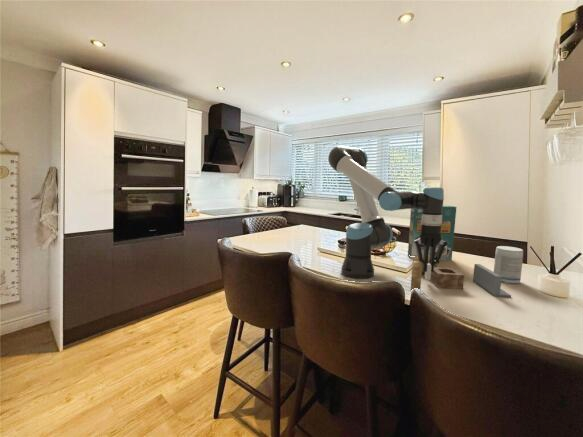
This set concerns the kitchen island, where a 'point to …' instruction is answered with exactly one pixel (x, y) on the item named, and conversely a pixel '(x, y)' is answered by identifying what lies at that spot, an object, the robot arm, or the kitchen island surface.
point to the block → (447, 278)
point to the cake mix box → (446, 232)
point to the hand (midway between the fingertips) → (427, 278)
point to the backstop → (488, 281)
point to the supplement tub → (508, 263)
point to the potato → (422, 263)
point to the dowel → (416, 274)
